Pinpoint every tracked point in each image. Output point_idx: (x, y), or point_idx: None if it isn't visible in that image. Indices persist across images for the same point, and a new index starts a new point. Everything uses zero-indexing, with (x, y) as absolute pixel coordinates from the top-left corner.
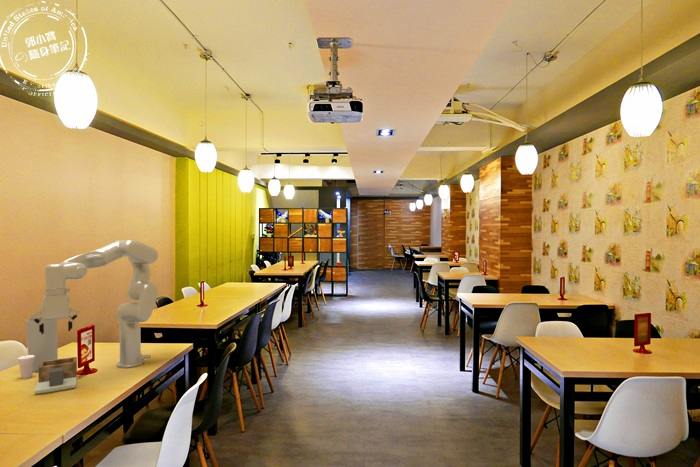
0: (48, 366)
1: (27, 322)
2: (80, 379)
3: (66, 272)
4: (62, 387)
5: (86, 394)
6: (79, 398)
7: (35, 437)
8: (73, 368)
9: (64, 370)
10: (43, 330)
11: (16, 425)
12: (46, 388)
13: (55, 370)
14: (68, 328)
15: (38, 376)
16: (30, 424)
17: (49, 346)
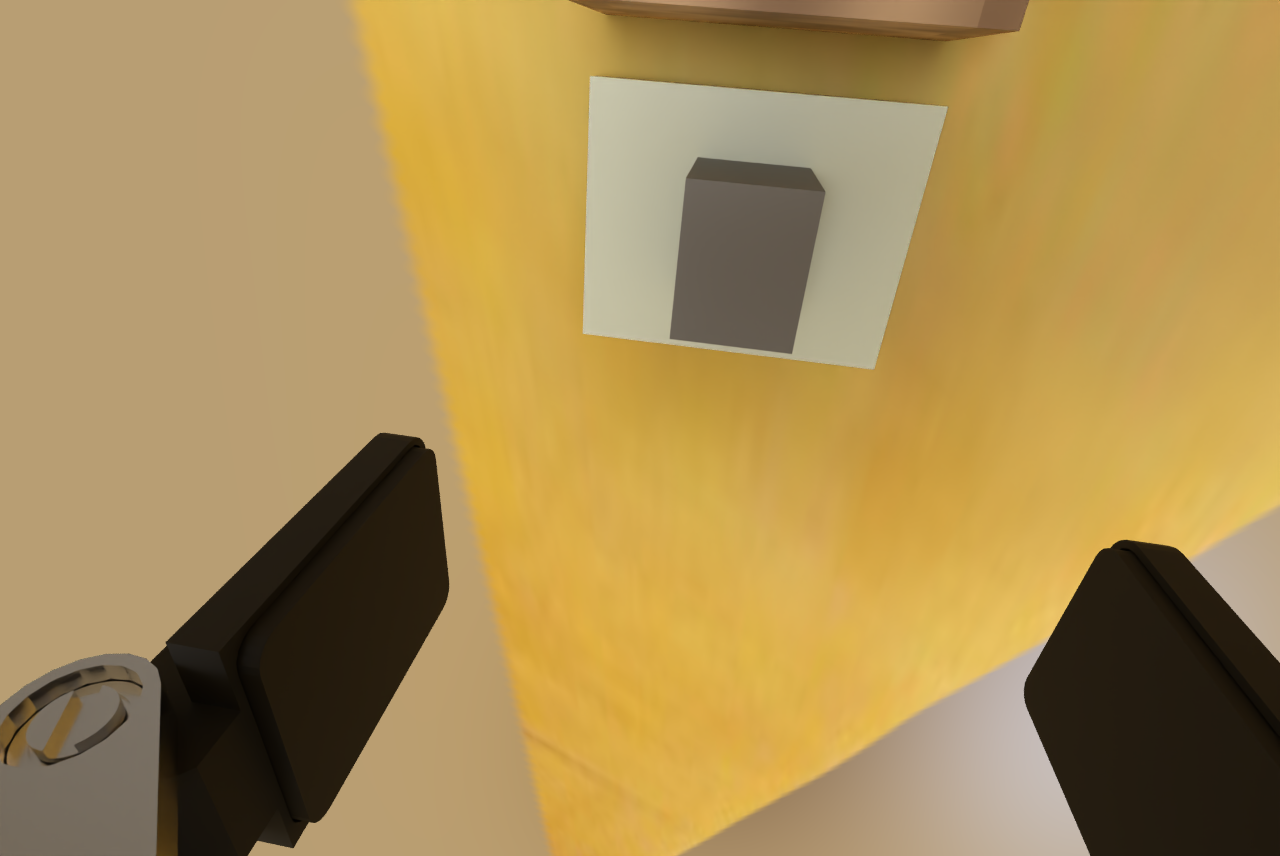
0: (671, 3)
1: None
2: (987, 45)
3: None
4: (773, 354)
5: (893, 519)
6: (837, 560)
7: (622, 816)
8: (959, 31)
9: (852, 25)
10: (408, 611)
11: (549, 694)
12: (662, 325)
13: (730, 295)
14: (1054, 766)
15: (584, 5)
16: (600, 717)
17: None
